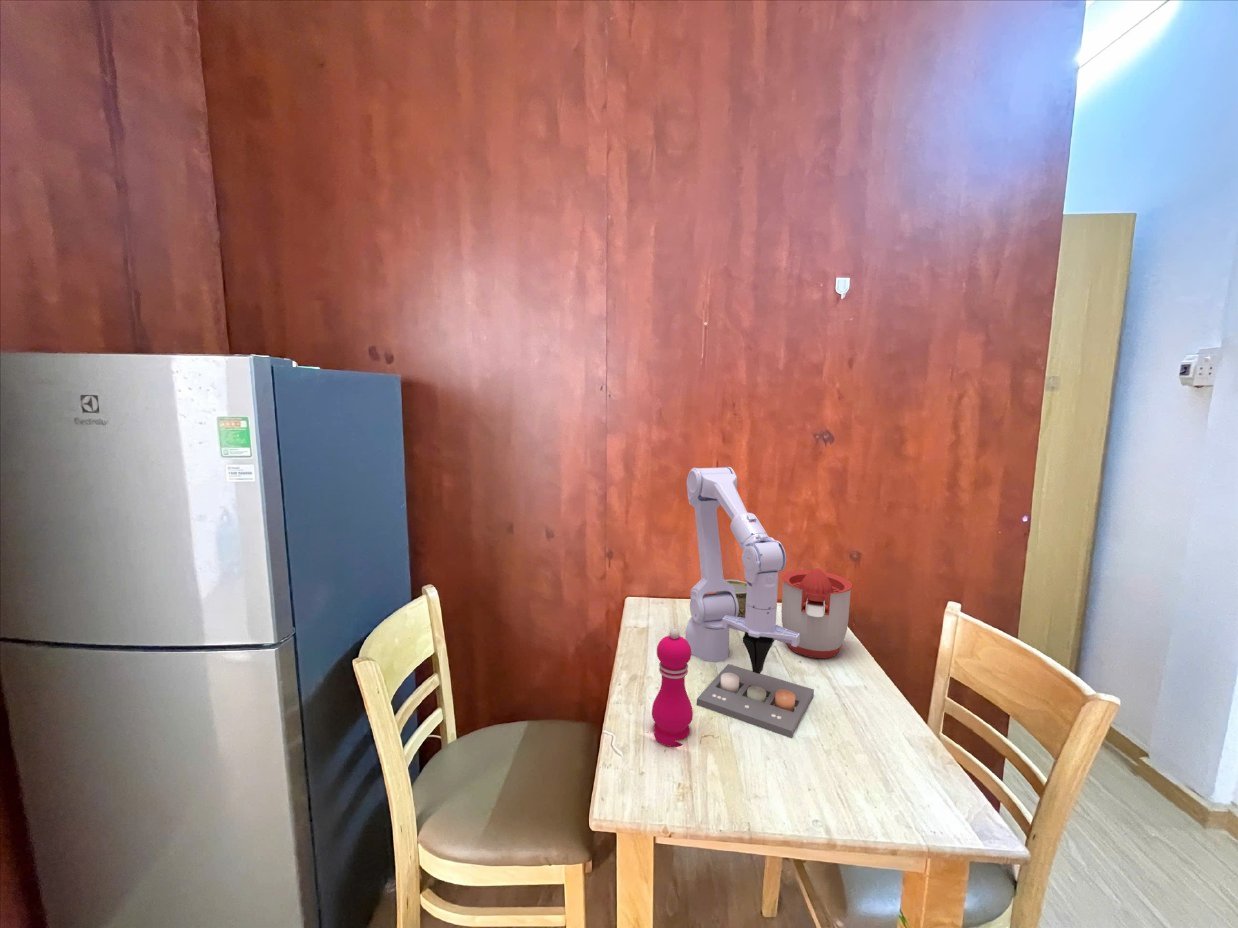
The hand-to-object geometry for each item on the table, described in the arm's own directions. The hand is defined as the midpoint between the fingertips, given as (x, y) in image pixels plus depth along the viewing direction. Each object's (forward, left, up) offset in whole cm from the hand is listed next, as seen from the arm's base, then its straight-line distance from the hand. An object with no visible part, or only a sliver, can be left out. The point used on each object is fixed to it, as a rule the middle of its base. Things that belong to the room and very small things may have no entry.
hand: (757, 670), depth 105 cm
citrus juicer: (+4, +30, -8) cm, 32 cm away
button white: (-5, 0, -6) cm, 8 cm away
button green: (0, 0, -7) cm, 7 cm away
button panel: (0, 0, -7) cm, 7 cm away
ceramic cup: (-16, +34, -8) cm, 39 cm away
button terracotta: (+6, 0, -6) cm, 8 cm away
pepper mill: (-9, -18, -8) cm, 21 cm away
